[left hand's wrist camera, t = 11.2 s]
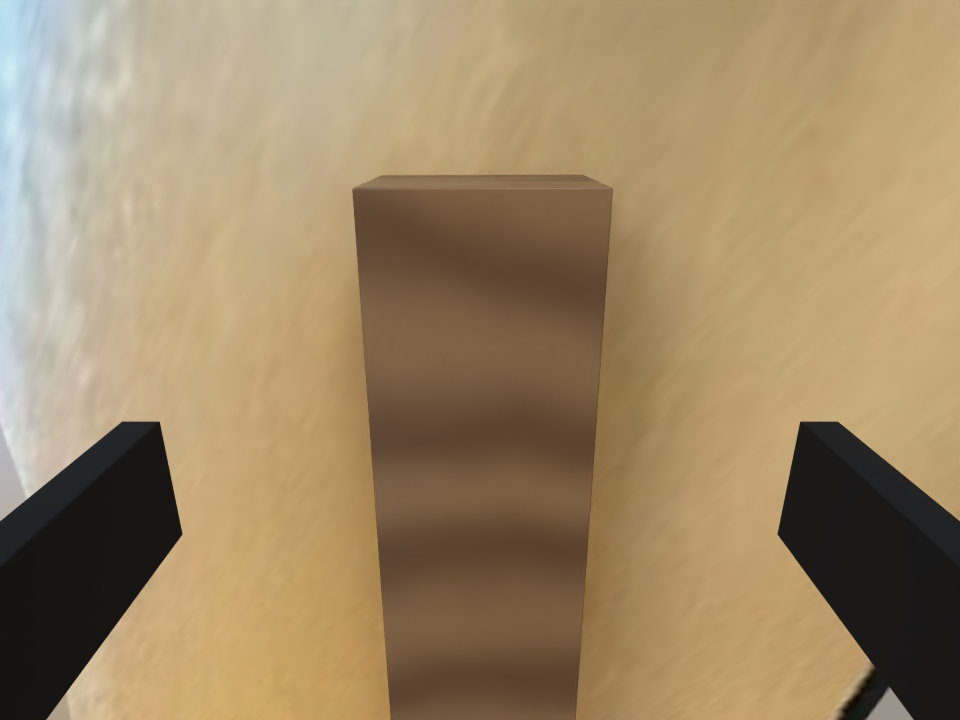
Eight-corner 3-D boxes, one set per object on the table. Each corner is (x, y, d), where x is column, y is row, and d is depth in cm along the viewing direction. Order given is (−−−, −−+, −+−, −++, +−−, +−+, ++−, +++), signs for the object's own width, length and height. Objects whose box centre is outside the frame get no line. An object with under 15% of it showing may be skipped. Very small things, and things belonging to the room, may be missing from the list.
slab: (380, 175, 31) (351, 188, 24) (583, 174, 31) (613, 187, 24) (418, 850, 49) (408, 966, 42) (547, 850, 49) (558, 966, 42)
